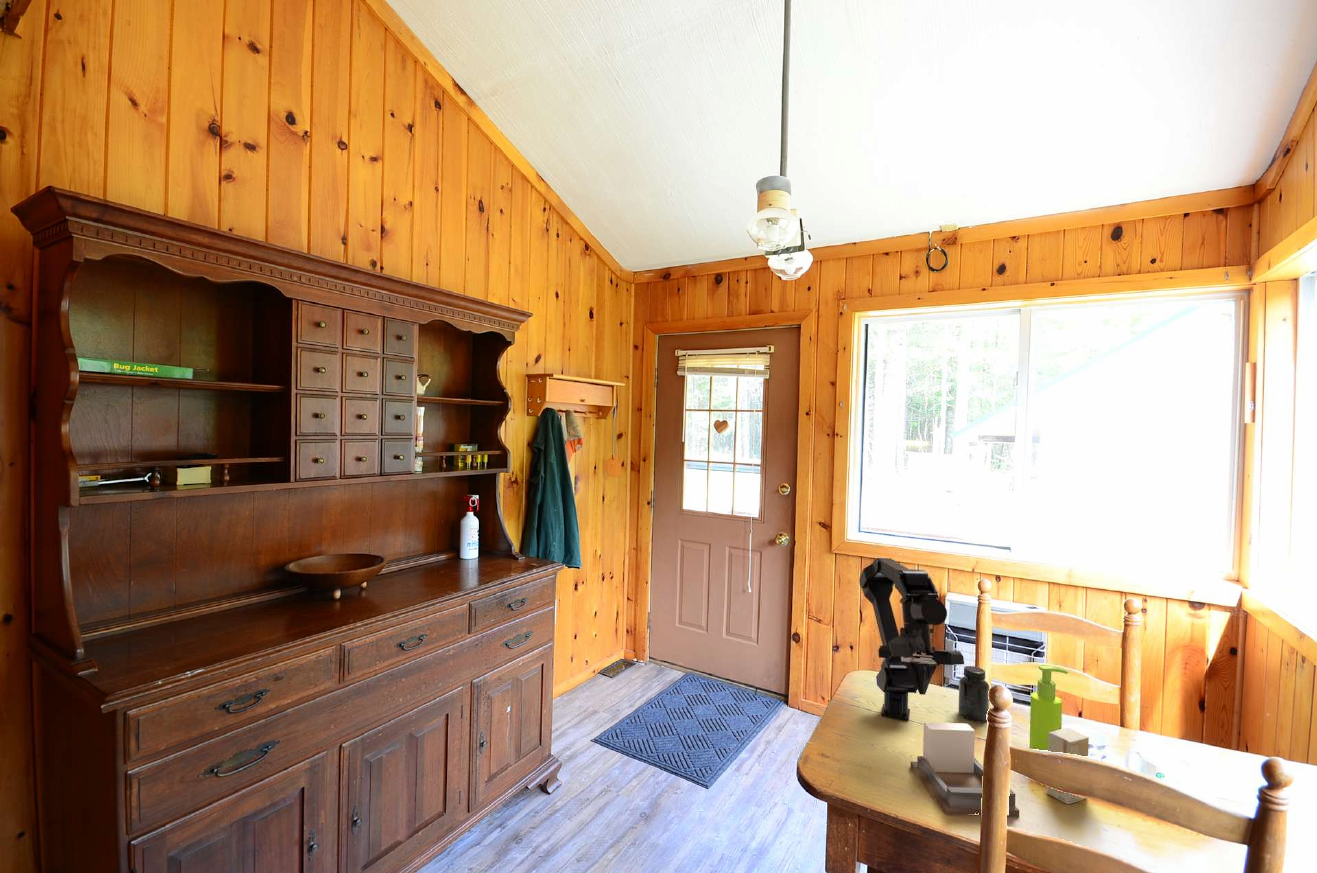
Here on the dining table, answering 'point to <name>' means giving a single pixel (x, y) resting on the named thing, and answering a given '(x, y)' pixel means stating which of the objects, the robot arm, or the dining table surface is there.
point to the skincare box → (1071, 744)
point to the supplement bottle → (973, 694)
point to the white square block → (949, 747)
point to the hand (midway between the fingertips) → (922, 694)
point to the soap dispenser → (1045, 709)
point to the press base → (954, 783)
